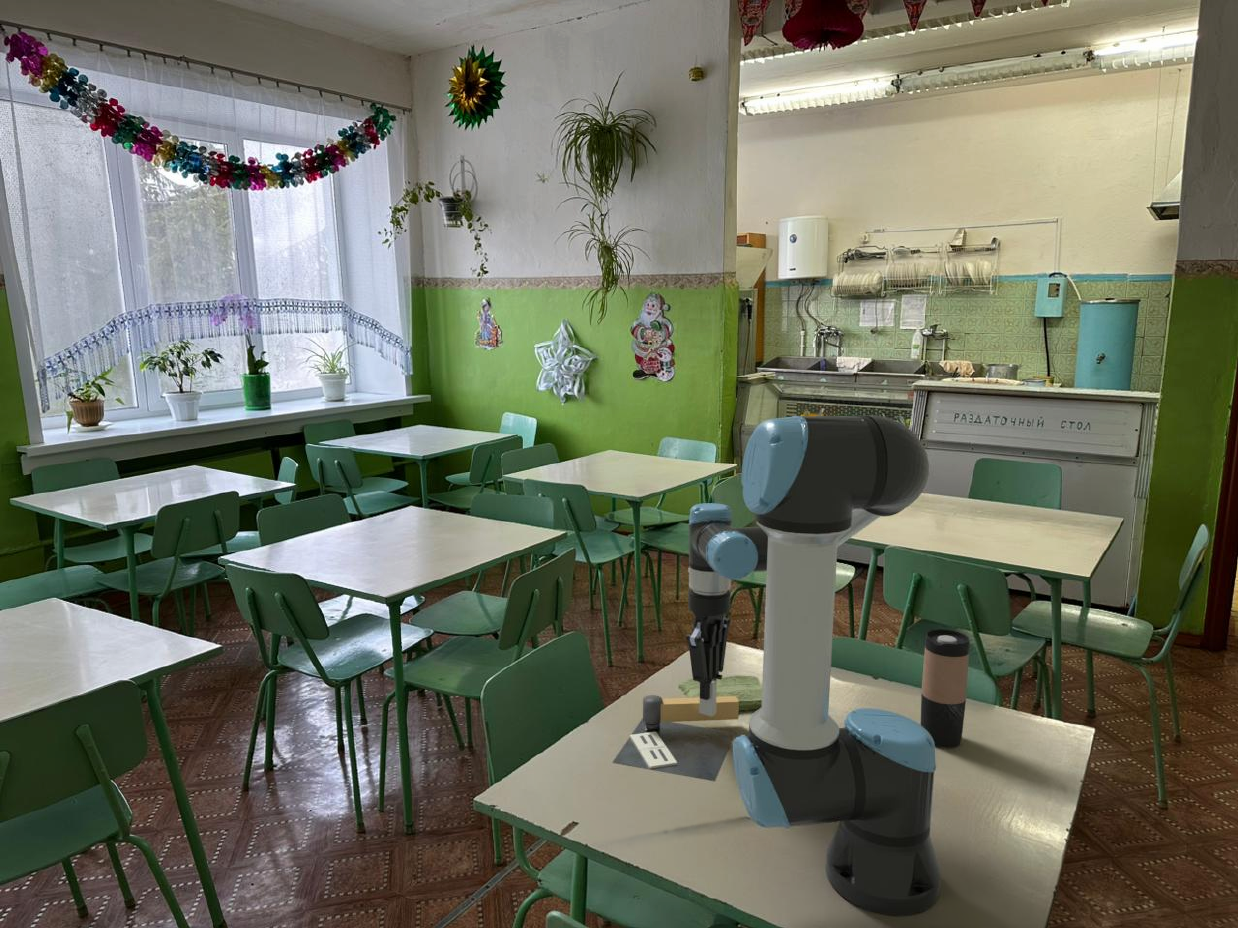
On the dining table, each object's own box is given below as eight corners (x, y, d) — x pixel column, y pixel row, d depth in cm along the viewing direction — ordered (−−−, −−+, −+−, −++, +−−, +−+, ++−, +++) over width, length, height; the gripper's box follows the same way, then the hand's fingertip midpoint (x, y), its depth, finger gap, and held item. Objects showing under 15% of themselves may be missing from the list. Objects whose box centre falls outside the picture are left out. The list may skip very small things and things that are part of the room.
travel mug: (955, 729, 158) (963, 629, 155) (968, 750, 151) (976, 645, 148) (914, 727, 159) (920, 628, 156) (924, 748, 152) (931, 643, 148)
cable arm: (644, 724, 154) (644, 703, 153) (641, 715, 158) (642, 695, 157) (739, 720, 156) (739, 700, 155) (734, 711, 159) (735, 692, 158)
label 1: (629, 736, 153) (629, 734, 153) (655, 733, 154) (655, 730, 154) (639, 752, 147) (639, 750, 147) (666, 748, 149) (666, 746, 149)
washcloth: (778, 711, 167) (779, 696, 167) (693, 719, 164) (693, 703, 163) (755, 683, 180) (755, 669, 179) (676, 690, 176) (676, 676, 176)
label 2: (639, 751, 148) (639, 748, 148) (665, 747, 149) (665, 745, 149) (649, 768, 142) (649, 766, 142) (677, 764, 144) (677, 761, 144)
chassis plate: (714, 787, 139) (714, 772, 138) (612, 768, 144) (612, 754, 144) (735, 738, 155) (735, 724, 155) (642, 723, 161) (643, 710, 160)
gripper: (708, 577, 158) (706, 696, 161) (673, 595, 147) (672, 721, 151) (744, 584, 154) (741, 705, 157) (711, 602, 143) (709, 732, 146)
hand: (707, 713), depth 154 cm, fingers closed
